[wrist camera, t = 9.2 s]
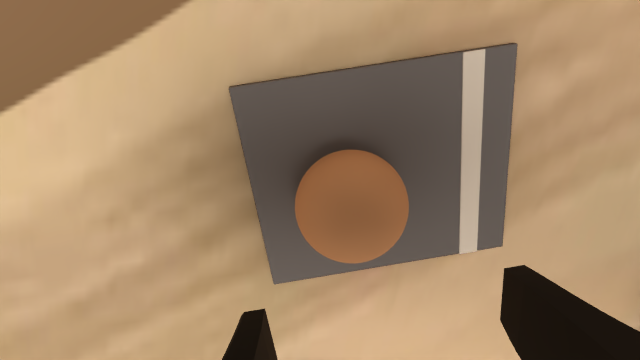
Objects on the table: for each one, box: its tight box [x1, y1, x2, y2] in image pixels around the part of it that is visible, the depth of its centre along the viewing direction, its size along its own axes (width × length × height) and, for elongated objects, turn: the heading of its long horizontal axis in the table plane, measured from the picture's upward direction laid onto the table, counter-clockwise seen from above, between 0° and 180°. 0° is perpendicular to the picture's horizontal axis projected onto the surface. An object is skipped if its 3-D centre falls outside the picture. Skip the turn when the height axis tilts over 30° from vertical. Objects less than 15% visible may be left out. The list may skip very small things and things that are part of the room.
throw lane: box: [229, 43, 517, 284], centre depth 20 cm, size 13×11×1 cm
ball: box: [295, 150, 409, 263], centre depth 18 cm, size 5×5×5 cm
